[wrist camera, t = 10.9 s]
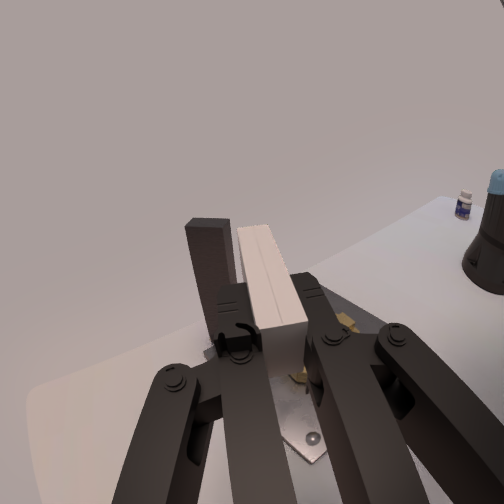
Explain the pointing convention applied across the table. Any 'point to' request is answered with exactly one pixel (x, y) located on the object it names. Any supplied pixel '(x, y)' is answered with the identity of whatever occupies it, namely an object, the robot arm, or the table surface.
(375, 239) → the table surface
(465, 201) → the pill bottle
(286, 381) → the flange
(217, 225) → the grey and tan piece
